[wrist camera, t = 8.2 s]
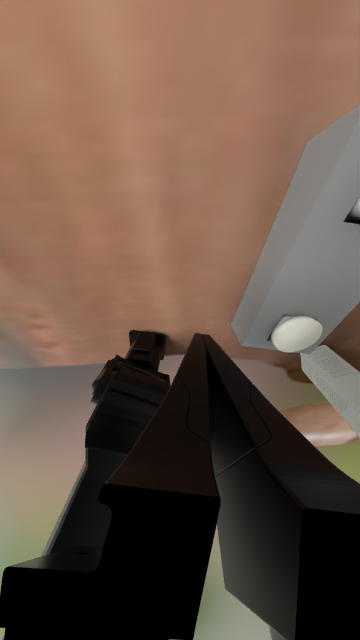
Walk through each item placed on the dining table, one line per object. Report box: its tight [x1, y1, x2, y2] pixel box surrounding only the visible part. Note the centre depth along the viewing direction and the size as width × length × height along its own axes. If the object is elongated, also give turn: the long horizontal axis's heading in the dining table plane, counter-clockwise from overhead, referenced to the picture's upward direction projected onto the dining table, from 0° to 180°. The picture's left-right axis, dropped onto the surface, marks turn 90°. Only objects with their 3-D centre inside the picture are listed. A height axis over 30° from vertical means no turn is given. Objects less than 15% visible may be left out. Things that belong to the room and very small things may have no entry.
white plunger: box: [271, 314, 323, 352], centre depth 18 cm, size 5×5×5 cm
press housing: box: [231, 104, 360, 354], centre depth 16 cm, size 20×10×5 cm, turn 172°
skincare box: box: [300, 345, 360, 437], centre depth 21 cm, size 6×4×12 cm
